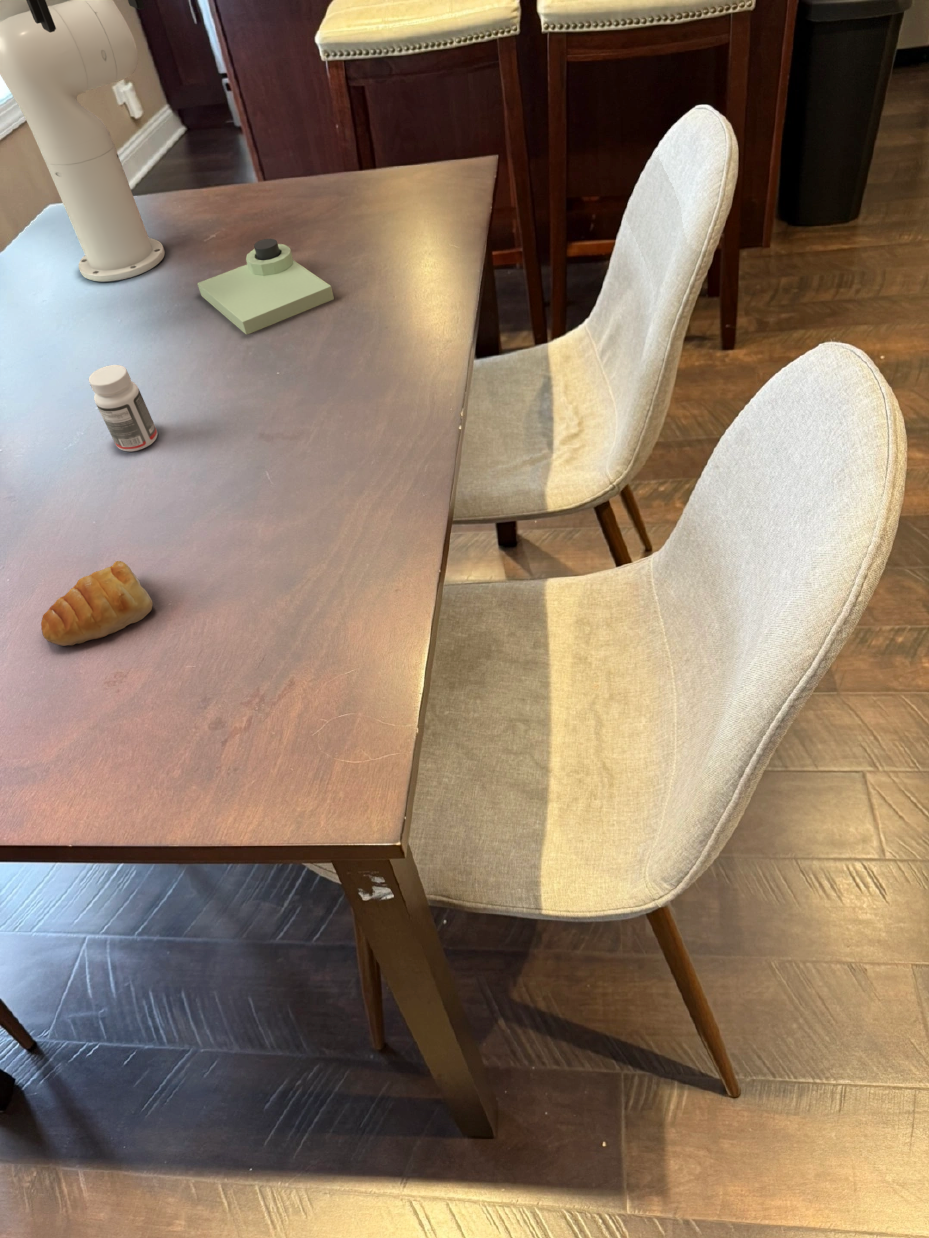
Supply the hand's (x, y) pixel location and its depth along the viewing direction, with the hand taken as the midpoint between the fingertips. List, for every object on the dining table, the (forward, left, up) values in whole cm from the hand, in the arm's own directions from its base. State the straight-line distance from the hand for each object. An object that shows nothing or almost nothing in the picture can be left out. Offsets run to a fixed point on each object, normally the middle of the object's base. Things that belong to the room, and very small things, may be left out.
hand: (94, 18), depth 92 cm
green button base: (+3, +9, -34) cm, 35 cm away
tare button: (-2, +12, -30) cm, 33 cm away
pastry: (+48, -29, -34) cm, 65 cm away
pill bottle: (+23, -17, -34) cm, 44 cm away
